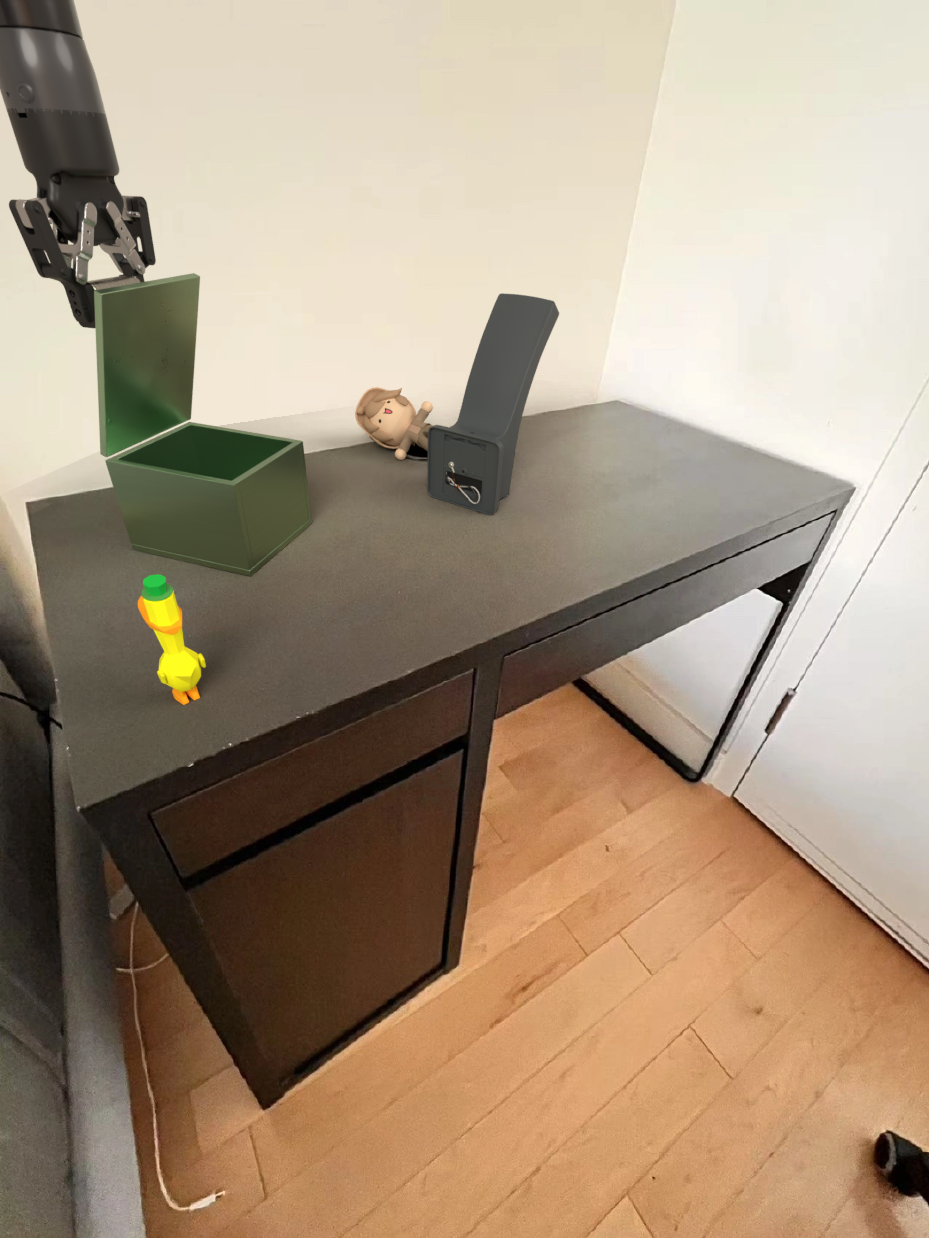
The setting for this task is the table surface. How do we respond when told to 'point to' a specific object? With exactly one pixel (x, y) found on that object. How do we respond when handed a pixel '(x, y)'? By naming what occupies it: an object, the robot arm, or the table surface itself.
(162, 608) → the toy figure
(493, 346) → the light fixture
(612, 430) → the table surface
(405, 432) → the action figure
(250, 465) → the bin
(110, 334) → the bin lid
